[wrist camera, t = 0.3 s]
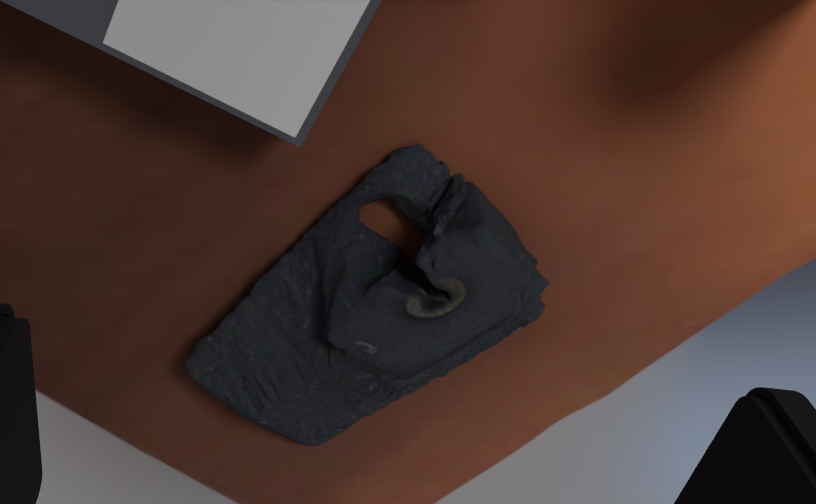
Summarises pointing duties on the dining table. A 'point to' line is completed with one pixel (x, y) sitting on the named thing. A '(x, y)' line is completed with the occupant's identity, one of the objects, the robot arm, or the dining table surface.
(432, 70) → the dining table surface
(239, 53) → the press bed
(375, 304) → the dark grey folded cloth
